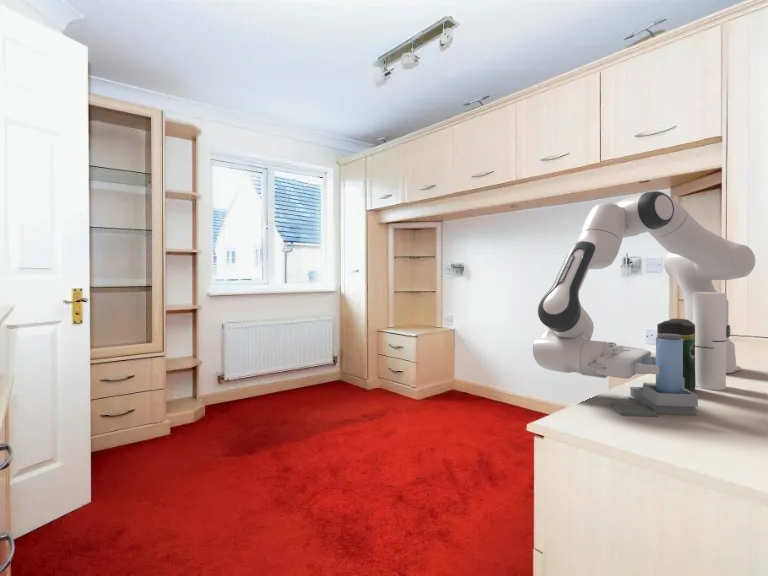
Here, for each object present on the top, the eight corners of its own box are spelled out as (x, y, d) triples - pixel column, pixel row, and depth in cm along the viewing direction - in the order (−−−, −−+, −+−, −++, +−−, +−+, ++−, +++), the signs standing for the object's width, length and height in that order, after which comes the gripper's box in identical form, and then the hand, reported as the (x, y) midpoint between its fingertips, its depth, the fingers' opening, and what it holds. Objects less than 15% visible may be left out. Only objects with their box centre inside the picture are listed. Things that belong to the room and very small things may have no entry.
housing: (630, 394, 110) (630, 376, 110) (665, 395, 108) (665, 377, 108) (656, 414, 94) (656, 393, 94) (698, 416, 93) (698, 395, 93)
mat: (611, 405, 101) (611, 402, 101) (644, 406, 100) (644, 404, 100) (621, 415, 94) (621, 412, 94) (656, 416, 93) (656, 413, 93)
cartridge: (652, 397, 100) (652, 333, 100) (676, 398, 99) (676, 333, 99) (661, 403, 96) (661, 336, 95) (686, 404, 95) (687, 336, 94)
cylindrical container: (731, 390, 113) (732, 293, 112) (700, 389, 114) (701, 293, 113) (716, 383, 120) (717, 292, 119) (687, 382, 121) (687, 292, 120)
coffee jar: (663, 384, 120) (663, 316, 120) (698, 389, 114) (698, 318, 114) (653, 390, 113) (653, 319, 113) (689, 396, 108) (689, 321, 107)
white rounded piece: (640, 394, 109) (640, 382, 109) (658, 394, 108) (658, 382, 108) (646, 398, 105) (646, 386, 105) (665, 399, 104) (665, 386, 104)
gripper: (583, 352, 100) (653, 359, 90) (611, 341, 115) (673, 346, 105) (584, 379, 100) (653, 389, 90) (611, 365, 115) (673, 372, 105)
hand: (664, 366), depth 98 cm, fingers open, 8 cm apart
